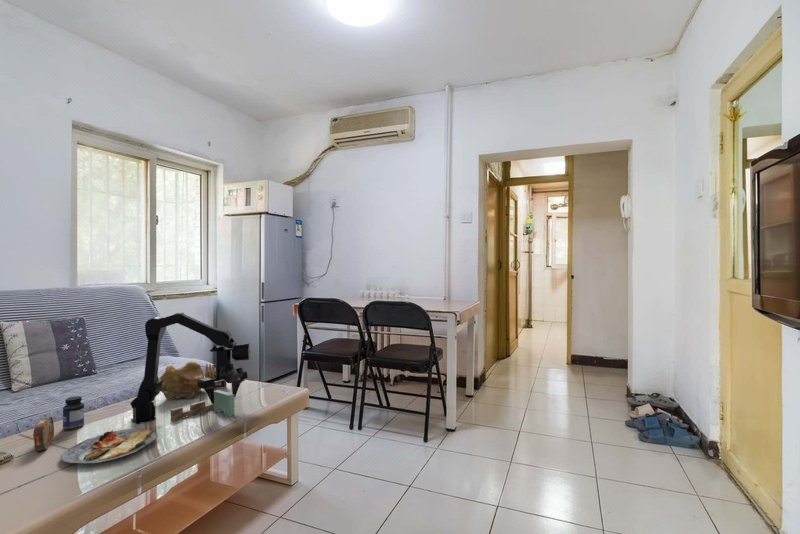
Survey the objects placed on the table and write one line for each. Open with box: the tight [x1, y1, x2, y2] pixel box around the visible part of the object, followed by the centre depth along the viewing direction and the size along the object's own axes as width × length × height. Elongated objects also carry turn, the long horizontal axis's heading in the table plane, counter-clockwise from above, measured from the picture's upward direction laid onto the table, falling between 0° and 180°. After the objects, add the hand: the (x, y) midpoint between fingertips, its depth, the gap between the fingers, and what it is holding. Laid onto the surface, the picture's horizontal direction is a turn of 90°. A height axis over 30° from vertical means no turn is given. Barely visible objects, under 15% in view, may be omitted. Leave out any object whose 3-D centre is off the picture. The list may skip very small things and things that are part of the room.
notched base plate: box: [170, 400, 214, 422], centre depth 160 cm, size 20×2×4 cm, turn 144°
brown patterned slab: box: [32, 416, 55, 452], centre depth 130 cm, size 15×3×8 cm, turn 32°
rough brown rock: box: [159, 361, 205, 401], centre depth 183 cm, size 23×17×15 cm
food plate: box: [59, 427, 159, 465], centre depth 126 cm, size 25×23×4 cm
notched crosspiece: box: [213, 389, 235, 417], centre depth 159 cm, size 2×12×8 cm, turn 54°
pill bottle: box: [62, 395, 85, 431], centre depth 146 cm, size 6×6×11 cm
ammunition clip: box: [204, 362, 227, 388], centre depth 197 cm, size 11×2×12 cm, turn 86°
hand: (223, 400), depth 159 cm, fingers open, 9 cm apart
